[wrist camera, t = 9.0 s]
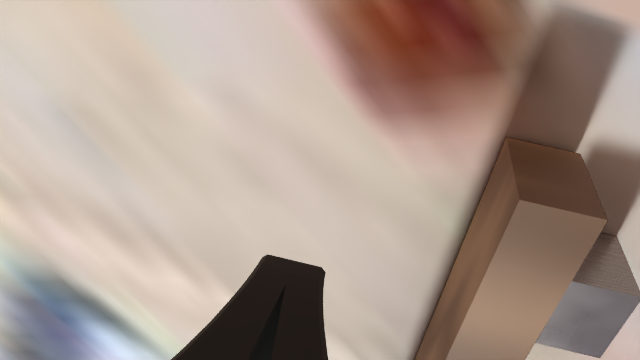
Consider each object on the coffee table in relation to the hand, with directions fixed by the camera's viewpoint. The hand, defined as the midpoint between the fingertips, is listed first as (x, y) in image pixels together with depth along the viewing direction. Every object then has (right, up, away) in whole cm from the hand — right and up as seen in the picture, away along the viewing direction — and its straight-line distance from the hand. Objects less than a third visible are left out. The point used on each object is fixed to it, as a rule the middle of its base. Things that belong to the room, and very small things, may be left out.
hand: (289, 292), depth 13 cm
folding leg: (+7, -3, +10) cm, 12 cm away
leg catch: (+10, 0, +8) cm, 13 cm away
